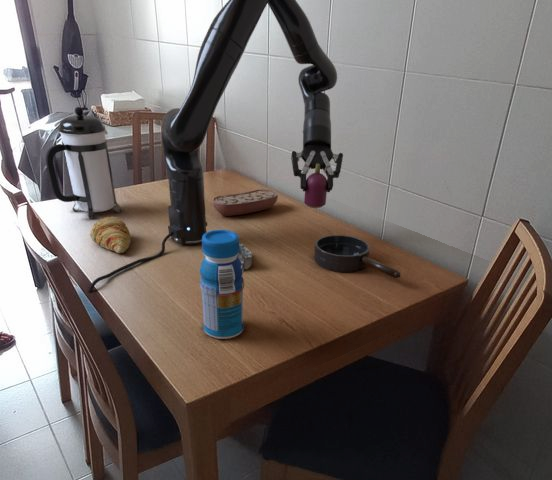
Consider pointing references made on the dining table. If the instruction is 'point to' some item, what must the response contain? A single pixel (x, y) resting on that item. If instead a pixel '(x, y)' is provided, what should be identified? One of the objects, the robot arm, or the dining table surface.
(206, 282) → the beverage bottle
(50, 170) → the coffee press
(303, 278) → the dining table surface
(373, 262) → the pan handle
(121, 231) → the croissant
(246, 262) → the grey irregular chunk
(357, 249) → the pan
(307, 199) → the purple eggplant
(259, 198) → the anatomical model
